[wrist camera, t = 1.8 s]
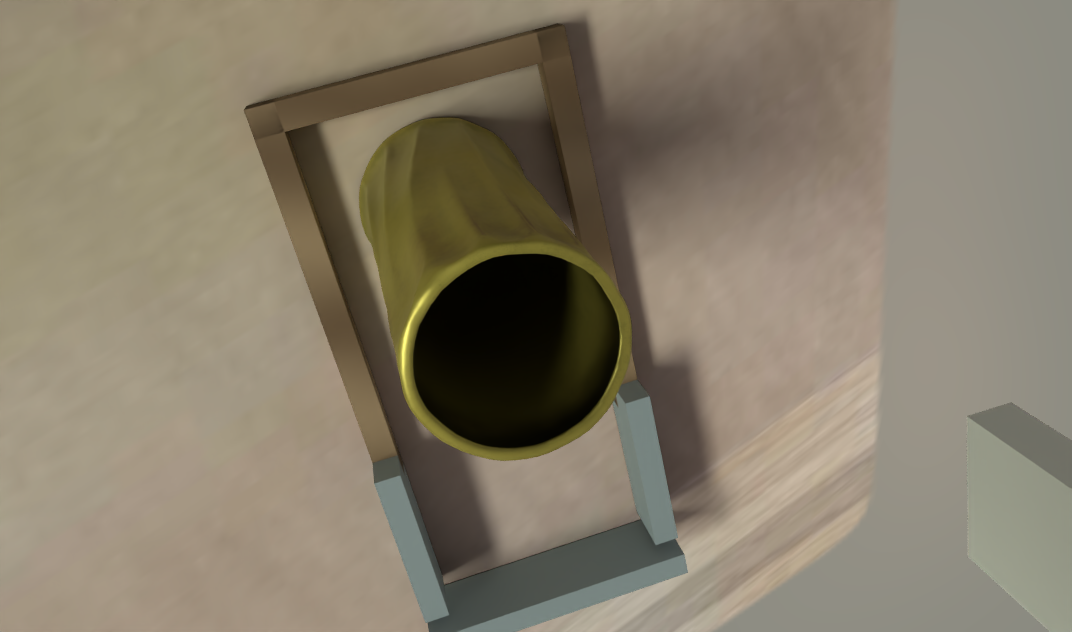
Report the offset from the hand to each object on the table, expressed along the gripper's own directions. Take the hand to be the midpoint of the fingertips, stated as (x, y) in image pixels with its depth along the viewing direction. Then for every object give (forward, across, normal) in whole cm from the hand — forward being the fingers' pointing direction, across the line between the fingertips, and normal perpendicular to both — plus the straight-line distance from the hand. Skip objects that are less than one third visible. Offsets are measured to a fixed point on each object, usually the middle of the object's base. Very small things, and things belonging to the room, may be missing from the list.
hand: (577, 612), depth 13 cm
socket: (+21, +1, -11) cm, 24 cm away
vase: (+21, +1, +1) cm, 21 cm away
